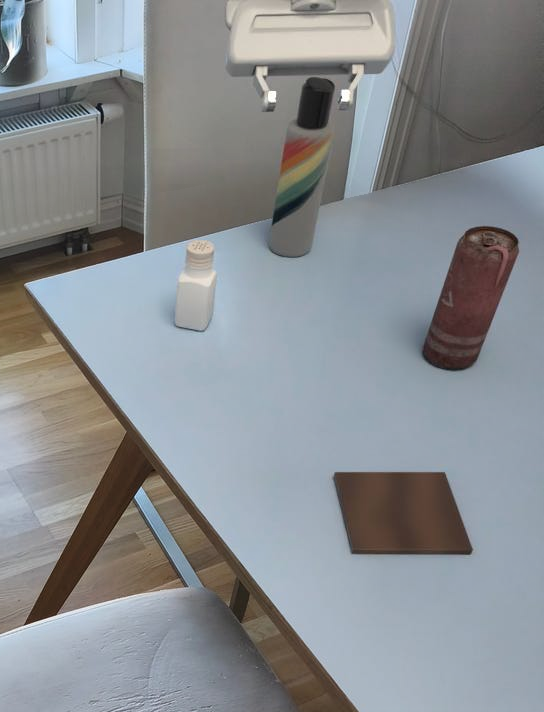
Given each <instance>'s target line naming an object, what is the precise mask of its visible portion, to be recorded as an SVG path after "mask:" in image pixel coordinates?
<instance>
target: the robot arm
mask: <svg viewBox="0 0 544 712" xmlns="http://www.w3.org/2000/svg"><path fill="white" fill-rule="evenodd" d="M395 22H396V21H395V13H394V7H393V4H392V2H391V0H227V2H226V3H225V6H224V25H225V26H226V28H227V29H228V31H229V33H228V39H227V46H226V50H225V51H226V52H225V61H224V62H225V63H224V68H225V71H226V72H227V73H228V75H229V76H230V77H231V78H245V77H246V78H247V77H248V78H250V77H252V78H253V80H252V83H253V84H252V85H253V87H254V89H255V90H256V92H257V94H258V96H259V98H260V99H261V112H262V113H271V112H274V111H275V109H276V106H277V105H276V104H277V100H276V98H277V90H270V88H269V86H268V84H267V82H266V80H267V77H292V76H293V77H294V76H295V77H296V76H297V77H298V76H299V77H300V76H303V77H304V76H343V75H344V76H345V75H347V83H351V84H350V86H349V87H348V88H347V89H341V90H340V93H339V95H338V96H337V104H338V105H337V111H350V110H351V109H352V107H353V105H354V91H355V90H356V89H357V86H358V85H359V83H360V81H361V79H362V77H363V76H364V75H380V74H382V73H383V72H384V71H385V69H387V67H388V66H389V64H390V63H391V62H392V60H393V57H394V55H395V51H396V25H395Z"/></svg>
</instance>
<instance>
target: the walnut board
mask: <svg viewBox="0 0 544 712" xmlns="http://www.w3.org/2000/svg"><path fill="white" fill-rule="evenodd" d="M333 479H334V485H335V489H336V492H337V496H338V500H339V504H340V505H339V506H340V509H341V514H342V517H343V521H344V522H343V523H344V526H345V530H346V534H347V537H348V542H349V547H350V550H351V554H352V555H353V554H354V555H355V554H356V555H358V554H359V555H472V553H473V551H474V549H473V546H472V543H471V541H470V538H469V534H468V533H467V529H466V526H465V524H464V521H463V519H462V516H461V515H462V514H461V512H460V510H459V508H458V505H457V502H456V499H455V496H454V494H453V490H452V488H451V486H450V482H449V480H448V477H447V473H446V472H445V471H334V474H333Z"/></svg>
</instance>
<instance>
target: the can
mask: <svg viewBox="0 0 544 712" xmlns="http://www.w3.org/2000/svg"><path fill="white" fill-rule="evenodd" d="M519 244H520V243H519V238H518V237H517V236H516V234H515V233H512V232H511V231H509V230H507V229H504V228H502V227H496V226H492V225H490V226H489V225H480V226H479V225H478V226H474V227H471V228H469V229H467V230H465V232H464V233H463V235H462V236H460V238H459V239H458V241H457V242H456V246H455V249H454V252H453V255H452V258H451V262H450V264H449V267H448V269H447V274H446V275H445V279H444V282H443V286H442V288H441V291H440V295H439V298H438V301H437V304H436V306H435V309H434V313H433V315H432V319H431V322H430V325H429V328H428V331H427V333H426V337H425V340H424V343H423V346H422V352H423V355H424V358H425V359H426V360H427V361H428V362H429V363H430V364H431V365H433V366H435V367H437V368H440V369H443V370H450V371H458V370H459V371H460V370H464V369H467V368H469V367H471V366H472V365H473V364H475V362H477V360H478V358H479V356H480V354H481V351H482V348H483V346H484V343H485V341H486V339H487V336H488V333H489V330H490V328H491V325H492V324H493V323H492V322H493V320H494V317H495V315H496V312H497V309H498V307H499V304H500V302H501V300H502V297H503V295H504V292H505V289H506V286H507V284H508V282H509V279H510V276H511V274H512V271H513V269H514V266H515V263H516V261H517V258H518V256H519V253H520V246H519Z"/></svg>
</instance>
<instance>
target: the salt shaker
mask: <svg viewBox="0 0 544 712" xmlns="http://www.w3.org/2000/svg"><path fill="white" fill-rule="evenodd" d="M185 250H186V252H185V260H184V261H185V262H184V263H185V266H184V267H183V268H182V270H181V272H180V274H179V275H178V277H177V284H176V298H175V309H174V310H175V311H174V324H175V326H177V327H179V328H183V329H184V328H185V329H188V330H189V329H190V330H195V331H199V332H201V331H205V330H206V328H207V326H208V324H209V323H210V320H211V319H212V317H213V314H214V308H215V307H214V306H215V299H216V290H217V289H216V288H217V279H218V271H216V270H215V269H214V268H213V264H214V255H215V245H214V243H212V242H211V241H209V240H205V239H195V240H191V241H190V242H188V243H187V244H186V249H185Z"/></svg>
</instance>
